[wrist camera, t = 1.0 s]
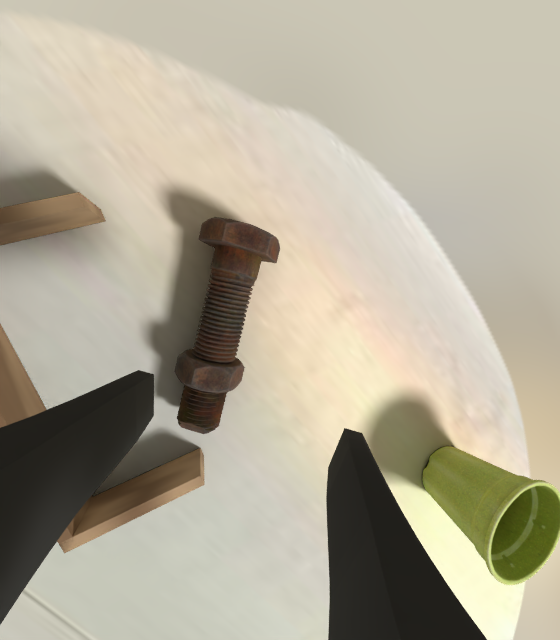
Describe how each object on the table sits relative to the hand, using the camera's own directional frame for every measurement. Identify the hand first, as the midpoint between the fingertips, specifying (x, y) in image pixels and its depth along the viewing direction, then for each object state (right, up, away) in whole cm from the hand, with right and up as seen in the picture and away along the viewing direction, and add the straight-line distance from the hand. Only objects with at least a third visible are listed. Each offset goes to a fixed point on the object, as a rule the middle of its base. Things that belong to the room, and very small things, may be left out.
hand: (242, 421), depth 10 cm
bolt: (-4, +3, +12) cm, 13 cm away
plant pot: (+20, -14, +22) cm, 33 cm away
